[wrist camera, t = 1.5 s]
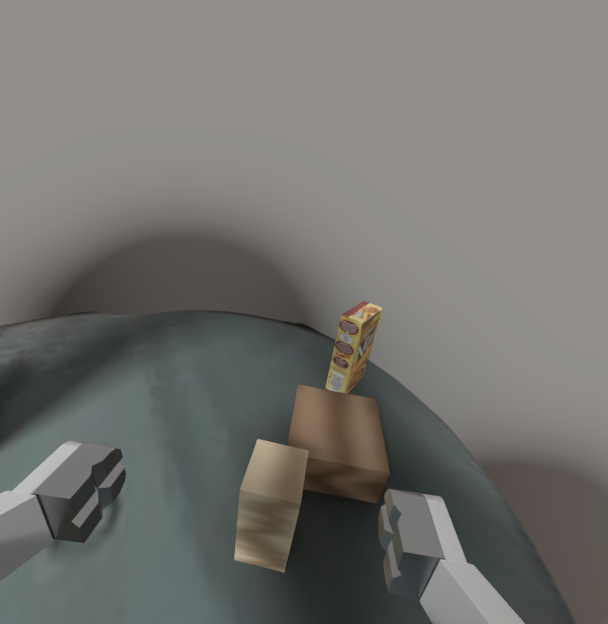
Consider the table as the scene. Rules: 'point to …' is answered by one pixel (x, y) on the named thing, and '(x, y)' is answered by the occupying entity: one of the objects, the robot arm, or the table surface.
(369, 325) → the candy box
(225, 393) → the table surface
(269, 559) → the maple block
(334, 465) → the walnut block
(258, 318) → the table surface
